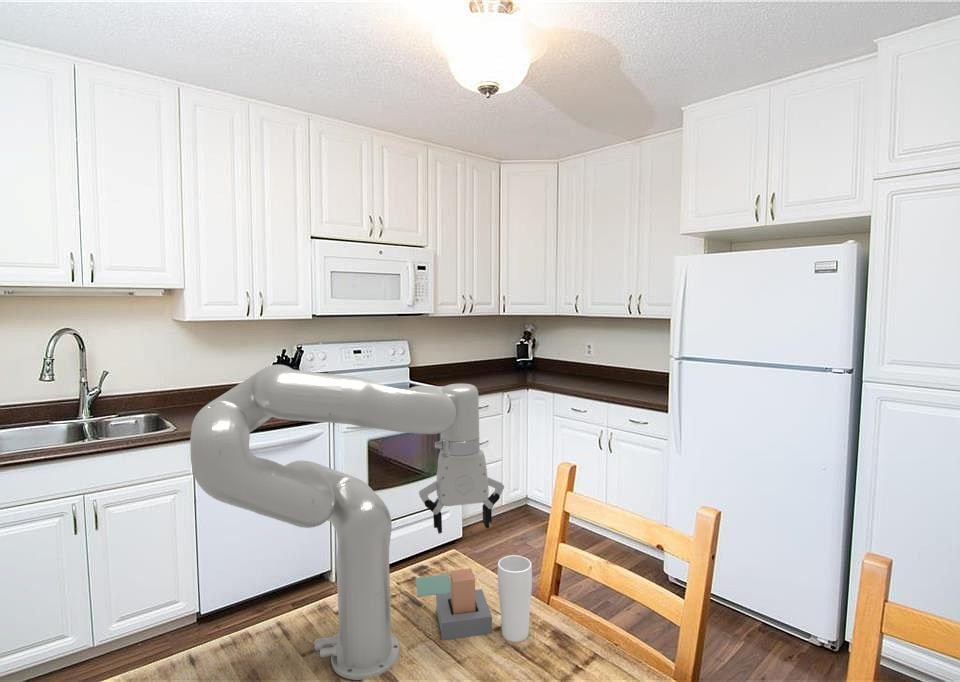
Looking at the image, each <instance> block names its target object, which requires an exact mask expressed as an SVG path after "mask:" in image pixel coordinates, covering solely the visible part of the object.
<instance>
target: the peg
mask: <svg viewBox="0 0 960 682" xmlns="http://www.w3.org/2000/svg"><path fill="white" fill-rule="evenodd" d="M449 572H450V575H449V578H450V582H451V615H456V614H463V613H471V612H475V590H476V579H475V575H474V572H473V570H472V567H470V568H463V569H455V570H450V571H449Z"/></svg>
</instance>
